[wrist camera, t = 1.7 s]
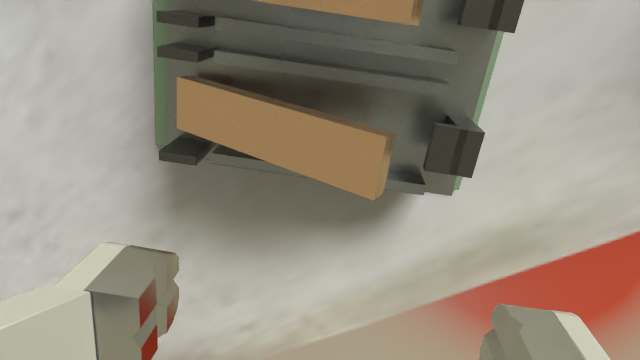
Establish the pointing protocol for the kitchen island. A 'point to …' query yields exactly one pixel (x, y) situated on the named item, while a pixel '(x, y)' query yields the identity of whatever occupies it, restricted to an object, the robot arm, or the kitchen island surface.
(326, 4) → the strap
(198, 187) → the kitchen island surface
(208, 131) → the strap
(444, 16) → the grey toaster
